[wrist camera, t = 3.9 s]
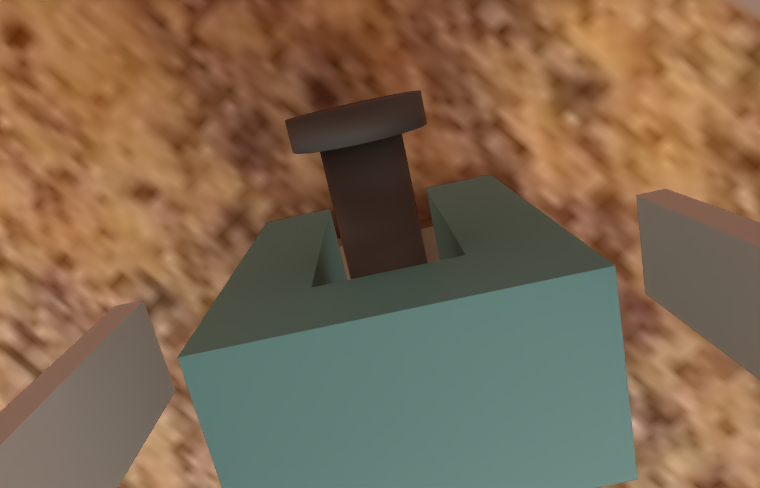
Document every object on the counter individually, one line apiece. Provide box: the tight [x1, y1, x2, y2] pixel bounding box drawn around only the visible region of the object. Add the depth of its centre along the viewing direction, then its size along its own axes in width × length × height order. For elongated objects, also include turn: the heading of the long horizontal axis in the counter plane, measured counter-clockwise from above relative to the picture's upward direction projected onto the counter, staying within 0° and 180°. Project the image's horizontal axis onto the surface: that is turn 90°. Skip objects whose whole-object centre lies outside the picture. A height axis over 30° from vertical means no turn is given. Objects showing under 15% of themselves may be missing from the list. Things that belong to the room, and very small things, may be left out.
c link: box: [178, 175, 637, 488], centre depth 14 cm, size 7×4×9 cm, turn 102°
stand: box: [285, 91, 440, 280], centre depth 17 cm, size 10×17×14 cm, turn 12°
